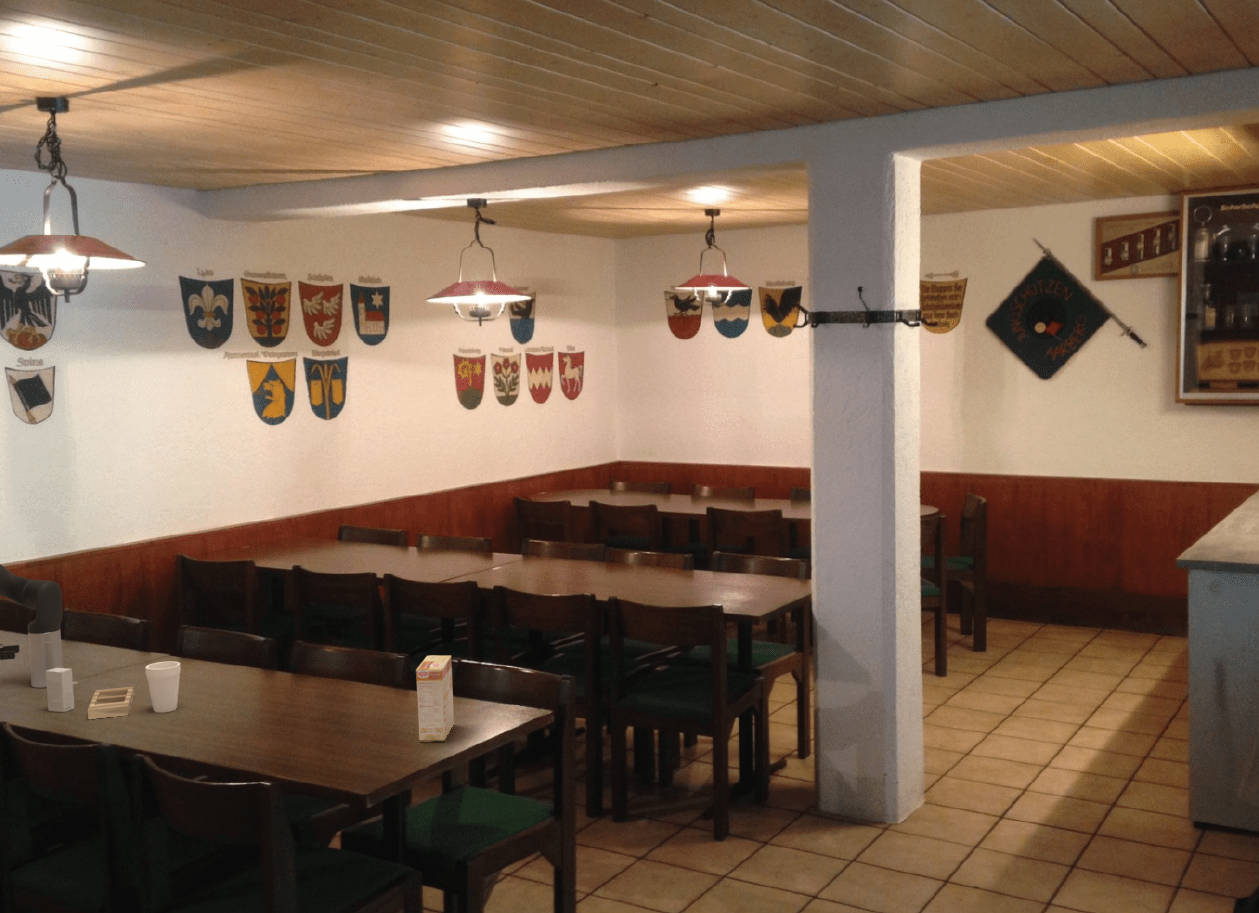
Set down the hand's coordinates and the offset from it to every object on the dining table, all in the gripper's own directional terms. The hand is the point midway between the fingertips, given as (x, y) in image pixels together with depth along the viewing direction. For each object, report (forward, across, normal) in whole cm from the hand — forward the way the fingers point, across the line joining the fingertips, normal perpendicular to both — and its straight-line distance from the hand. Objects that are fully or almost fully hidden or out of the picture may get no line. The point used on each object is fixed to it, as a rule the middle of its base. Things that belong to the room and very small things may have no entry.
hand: (17, 651), depth 347 cm
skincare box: (+11, 0, +18) cm, 21 cm away
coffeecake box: (+108, -69, +17) cm, 130 cm away
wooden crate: (+25, -4, +18) cm, 31 cm away
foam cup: (+40, -13, +18) cm, 45 cm away
